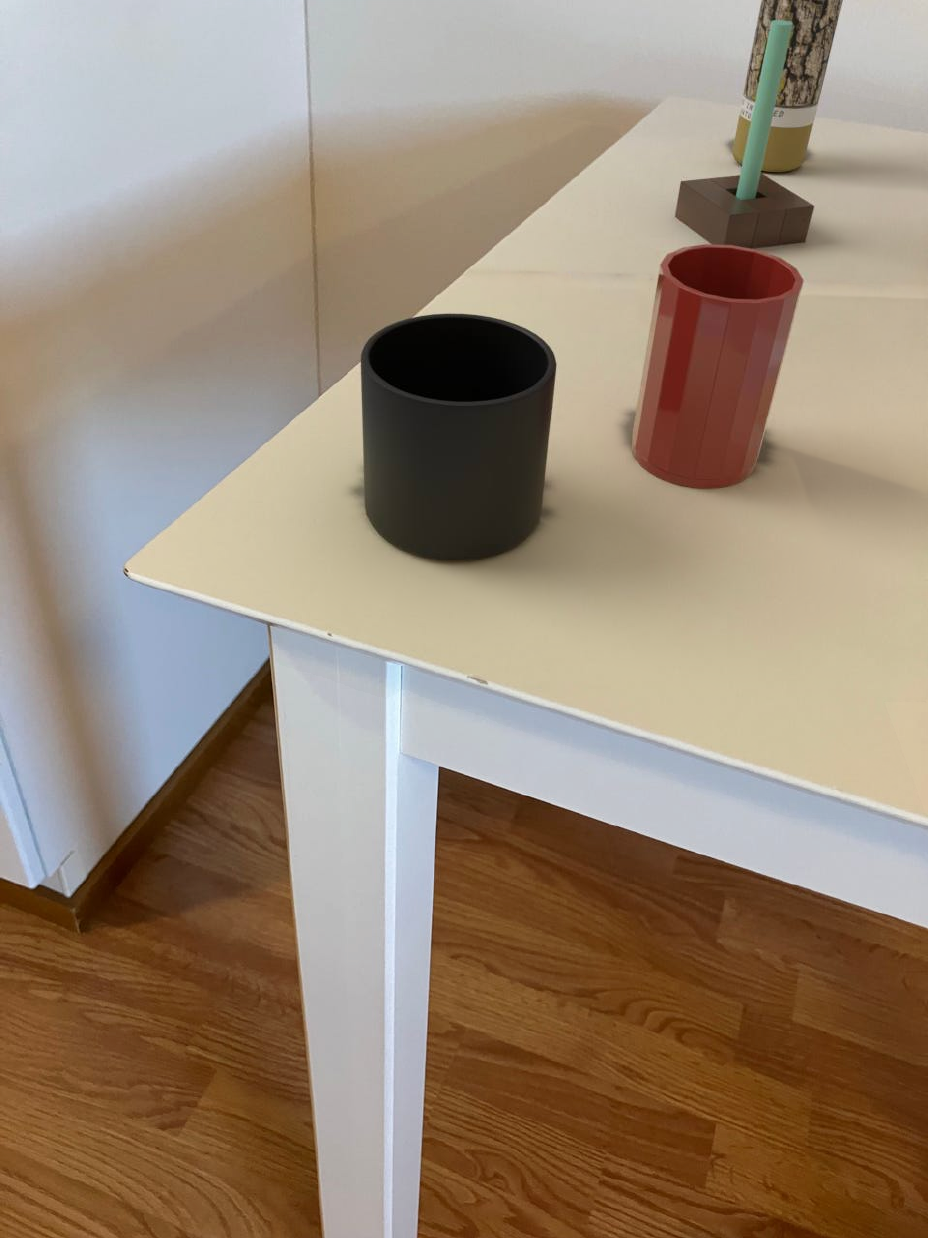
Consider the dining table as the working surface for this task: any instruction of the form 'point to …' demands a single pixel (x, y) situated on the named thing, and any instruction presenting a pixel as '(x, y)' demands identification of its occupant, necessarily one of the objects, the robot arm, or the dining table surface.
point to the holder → (743, 213)
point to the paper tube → (790, 79)
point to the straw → (764, 108)
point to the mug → (455, 433)
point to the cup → (713, 363)
